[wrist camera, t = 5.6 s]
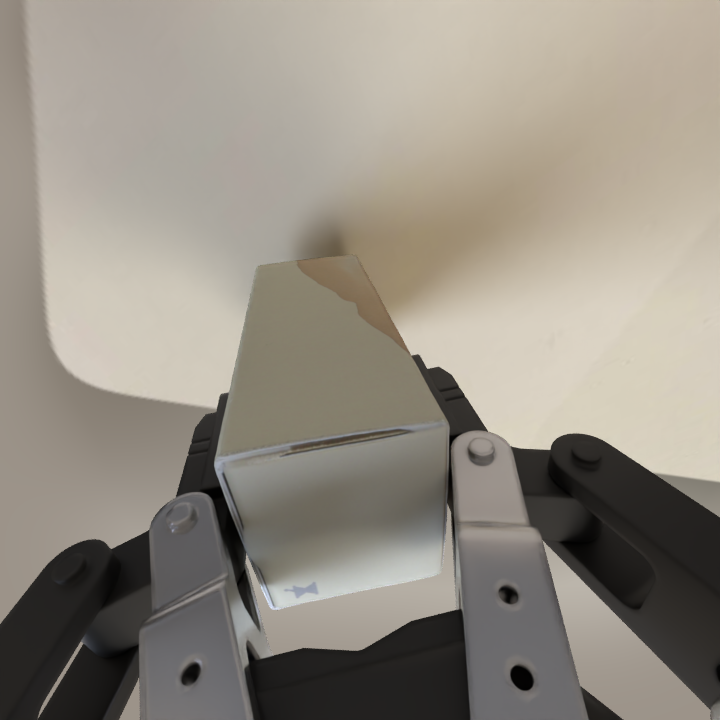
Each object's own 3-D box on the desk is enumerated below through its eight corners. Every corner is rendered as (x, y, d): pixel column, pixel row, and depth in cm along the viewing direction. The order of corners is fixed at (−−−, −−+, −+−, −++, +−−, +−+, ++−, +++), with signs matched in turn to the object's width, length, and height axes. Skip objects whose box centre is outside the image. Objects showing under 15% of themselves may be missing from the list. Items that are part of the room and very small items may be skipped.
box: (365, 355, 19) (445, 585, 10) (275, 368, 19) (268, 624, 9) (357, 246, 16) (458, 423, 7) (250, 258, 16) (204, 467, 6)
